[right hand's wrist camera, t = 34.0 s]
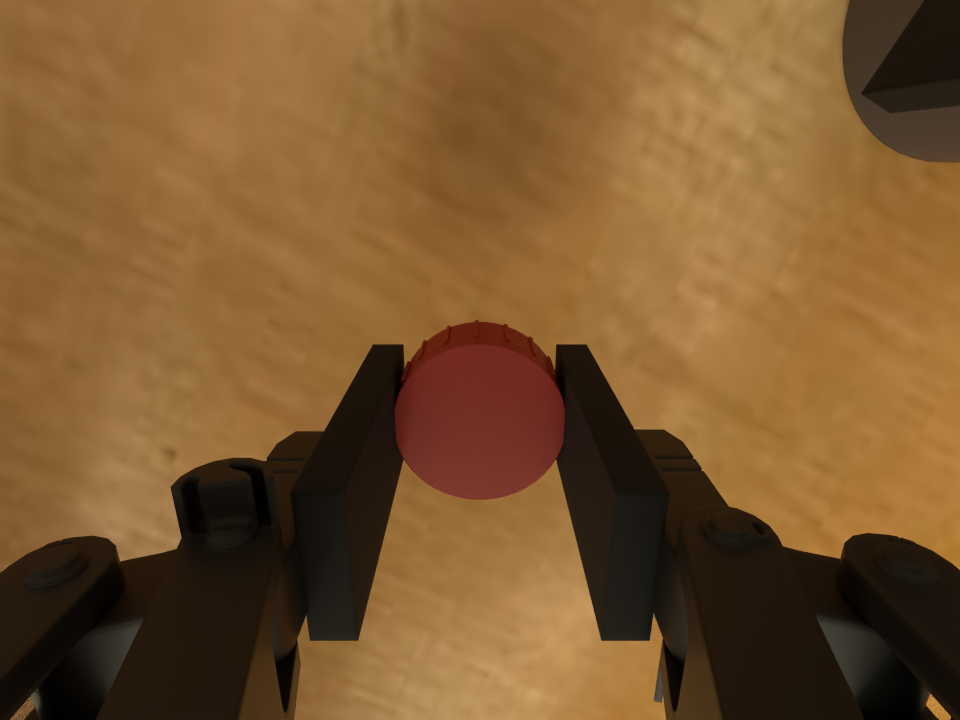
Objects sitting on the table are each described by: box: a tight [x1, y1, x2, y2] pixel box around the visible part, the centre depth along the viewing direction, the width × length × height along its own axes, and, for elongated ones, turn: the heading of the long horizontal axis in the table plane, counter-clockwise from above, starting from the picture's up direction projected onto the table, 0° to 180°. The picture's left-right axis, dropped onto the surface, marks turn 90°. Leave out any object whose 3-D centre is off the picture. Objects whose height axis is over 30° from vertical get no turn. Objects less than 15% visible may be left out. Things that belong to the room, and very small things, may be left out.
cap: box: [395, 320, 565, 500], centre depth 13 cm, size 4×4×2 cm
